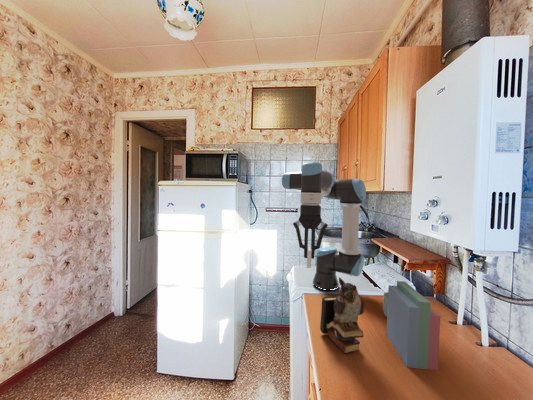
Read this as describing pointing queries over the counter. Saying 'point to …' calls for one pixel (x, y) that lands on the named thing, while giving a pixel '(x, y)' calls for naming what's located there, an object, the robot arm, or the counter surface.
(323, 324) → the bookend
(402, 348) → the book row
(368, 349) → the counter surface
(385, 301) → the cup
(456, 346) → the counter surface
